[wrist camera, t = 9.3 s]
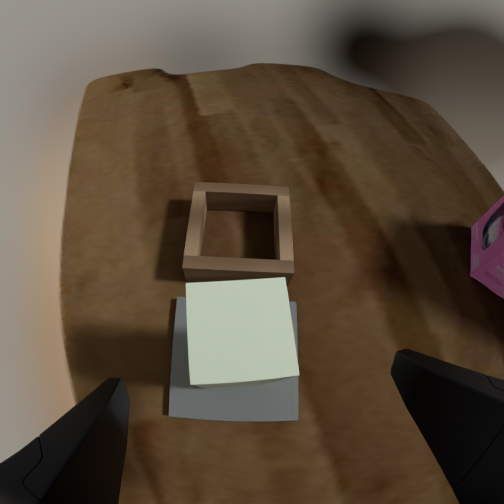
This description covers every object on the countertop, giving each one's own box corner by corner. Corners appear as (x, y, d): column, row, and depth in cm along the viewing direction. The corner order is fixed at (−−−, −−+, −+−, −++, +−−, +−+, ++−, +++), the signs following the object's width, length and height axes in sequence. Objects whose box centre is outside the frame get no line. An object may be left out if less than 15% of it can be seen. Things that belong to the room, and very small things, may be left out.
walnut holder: (287, 285, 23) (294, 273, 21) (186, 281, 22) (182, 267, 20) (283, 204, 27) (288, 187, 25) (197, 200, 26) (195, 182, 24)
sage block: (265, 384, 19) (299, 375, 10) (208, 389, 18) (190, 384, 10) (259, 330, 21) (285, 277, 12) (204, 334, 20) (185, 283, 11)
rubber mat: (296, 419, 18) (298, 420, 18) (170, 415, 18) (168, 416, 17) (294, 303, 22) (296, 301, 22) (178, 298, 22) (177, 296, 21)
